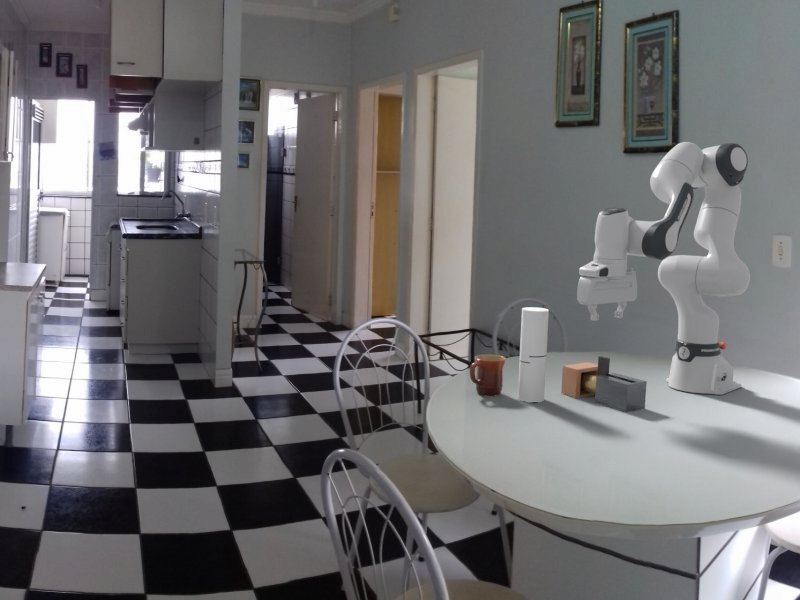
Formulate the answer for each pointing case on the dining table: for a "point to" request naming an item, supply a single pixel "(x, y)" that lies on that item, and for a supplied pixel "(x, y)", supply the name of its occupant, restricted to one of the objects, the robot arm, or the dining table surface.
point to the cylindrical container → (533, 354)
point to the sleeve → (620, 392)
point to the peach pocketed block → (576, 378)
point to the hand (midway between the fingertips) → (606, 319)
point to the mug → (488, 374)
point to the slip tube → (590, 380)
